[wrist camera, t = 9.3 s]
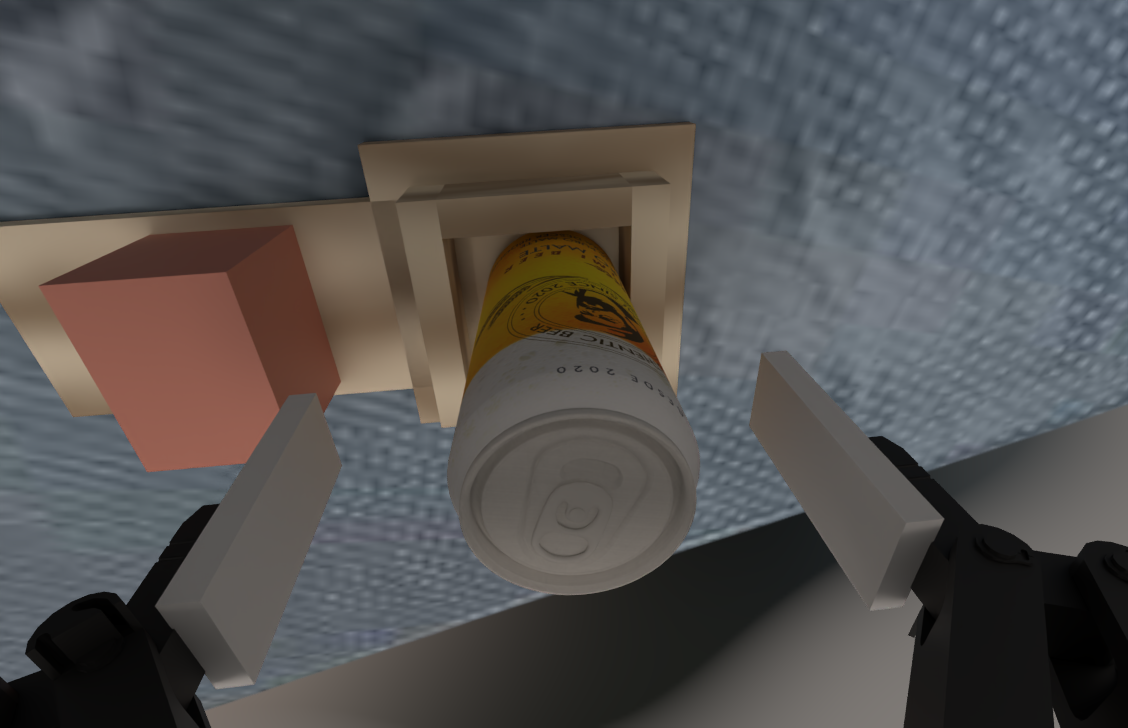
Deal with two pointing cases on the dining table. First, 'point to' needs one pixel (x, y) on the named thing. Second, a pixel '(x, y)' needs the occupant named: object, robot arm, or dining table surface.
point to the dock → (413, 250)
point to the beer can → (568, 427)
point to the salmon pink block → (198, 339)
